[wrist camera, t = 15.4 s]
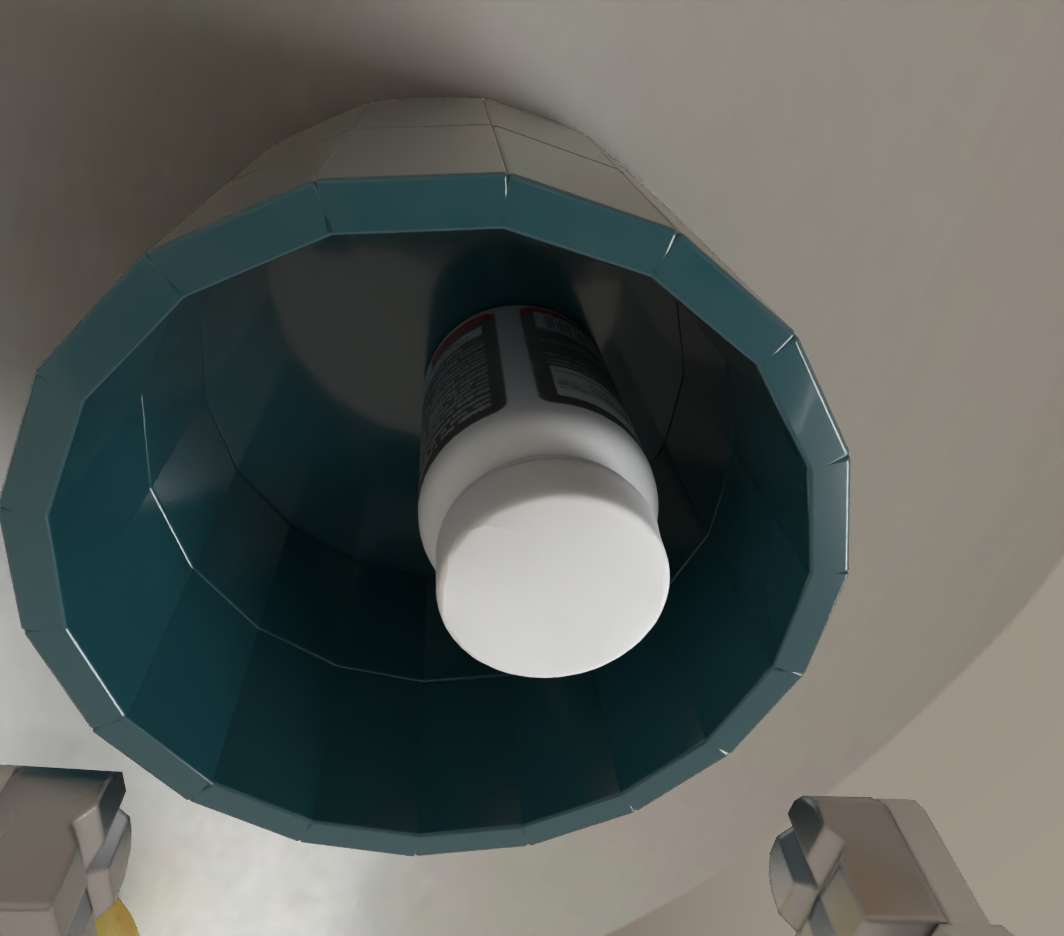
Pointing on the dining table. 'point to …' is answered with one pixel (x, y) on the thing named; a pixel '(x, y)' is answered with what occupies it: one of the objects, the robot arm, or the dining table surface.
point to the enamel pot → (408, 490)
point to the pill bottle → (536, 498)
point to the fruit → (116, 922)
